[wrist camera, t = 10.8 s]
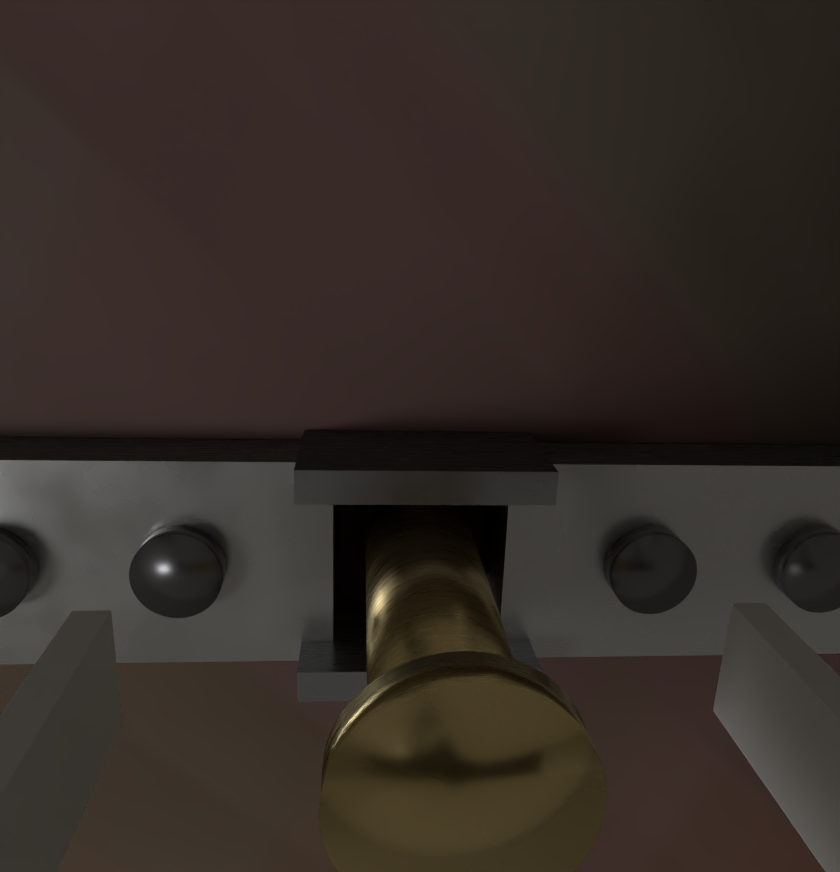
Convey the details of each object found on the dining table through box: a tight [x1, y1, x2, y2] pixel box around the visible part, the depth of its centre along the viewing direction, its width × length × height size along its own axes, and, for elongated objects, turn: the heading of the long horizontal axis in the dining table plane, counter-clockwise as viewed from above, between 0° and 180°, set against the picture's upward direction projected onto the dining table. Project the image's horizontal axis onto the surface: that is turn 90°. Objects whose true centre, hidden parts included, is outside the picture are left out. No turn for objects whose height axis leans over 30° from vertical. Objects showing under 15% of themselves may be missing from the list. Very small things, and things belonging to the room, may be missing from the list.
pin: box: [319, 505, 607, 872], centre depth 18 cm, size 5×5×11 cm
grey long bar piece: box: [0, 430, 840, 702], centre depth 21 cm, size 29×7×4 cm, turn 88°
